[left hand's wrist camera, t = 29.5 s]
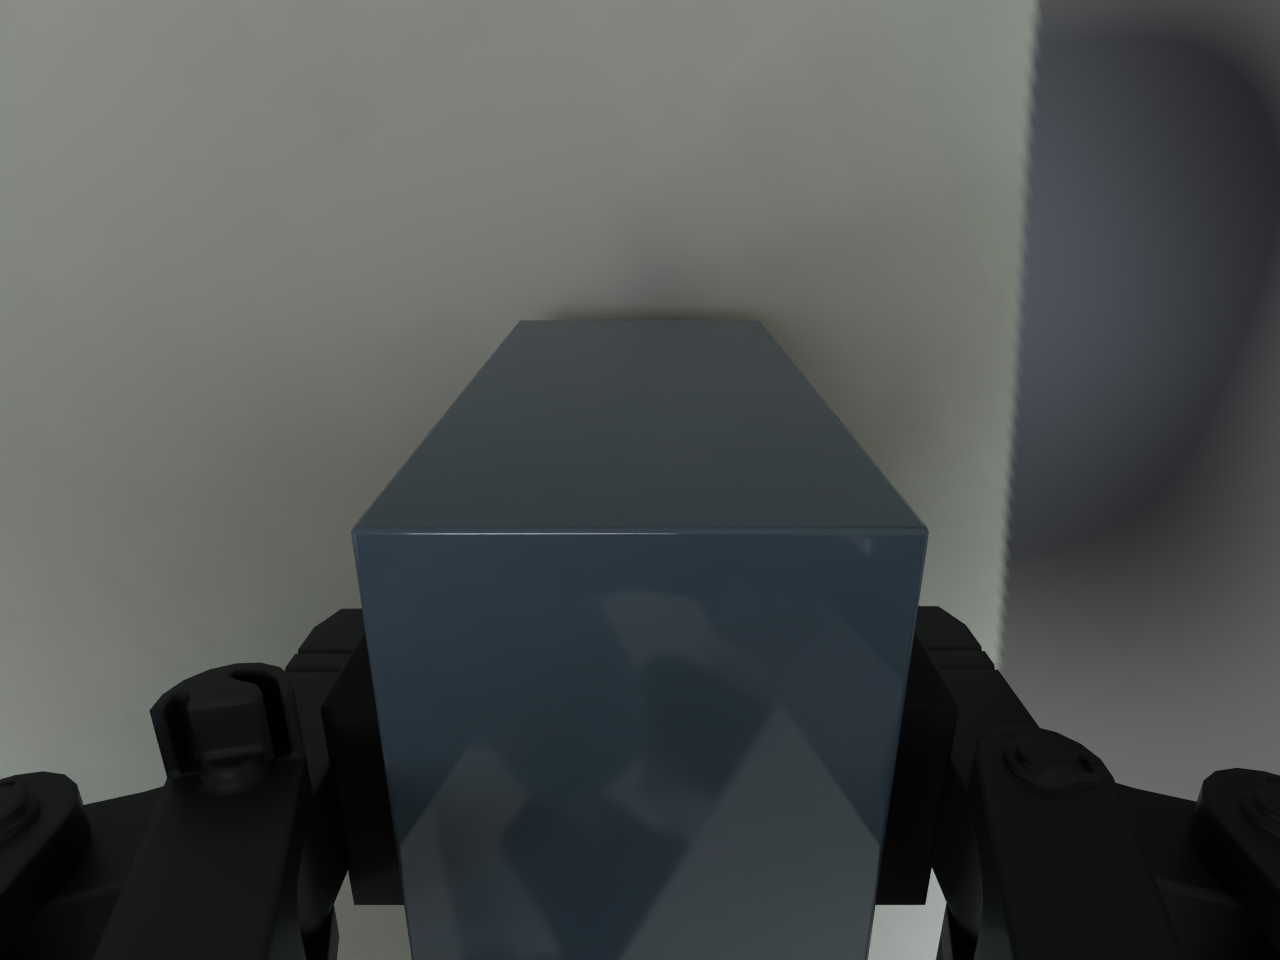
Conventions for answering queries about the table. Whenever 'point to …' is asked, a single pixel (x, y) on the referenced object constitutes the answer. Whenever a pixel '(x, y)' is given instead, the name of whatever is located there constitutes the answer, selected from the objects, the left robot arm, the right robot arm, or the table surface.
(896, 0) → the table surface
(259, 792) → the left robot arm
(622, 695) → the brick
